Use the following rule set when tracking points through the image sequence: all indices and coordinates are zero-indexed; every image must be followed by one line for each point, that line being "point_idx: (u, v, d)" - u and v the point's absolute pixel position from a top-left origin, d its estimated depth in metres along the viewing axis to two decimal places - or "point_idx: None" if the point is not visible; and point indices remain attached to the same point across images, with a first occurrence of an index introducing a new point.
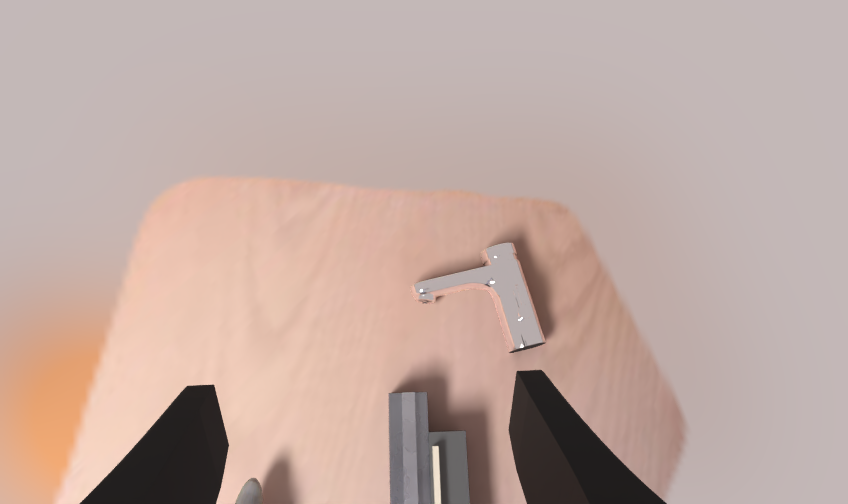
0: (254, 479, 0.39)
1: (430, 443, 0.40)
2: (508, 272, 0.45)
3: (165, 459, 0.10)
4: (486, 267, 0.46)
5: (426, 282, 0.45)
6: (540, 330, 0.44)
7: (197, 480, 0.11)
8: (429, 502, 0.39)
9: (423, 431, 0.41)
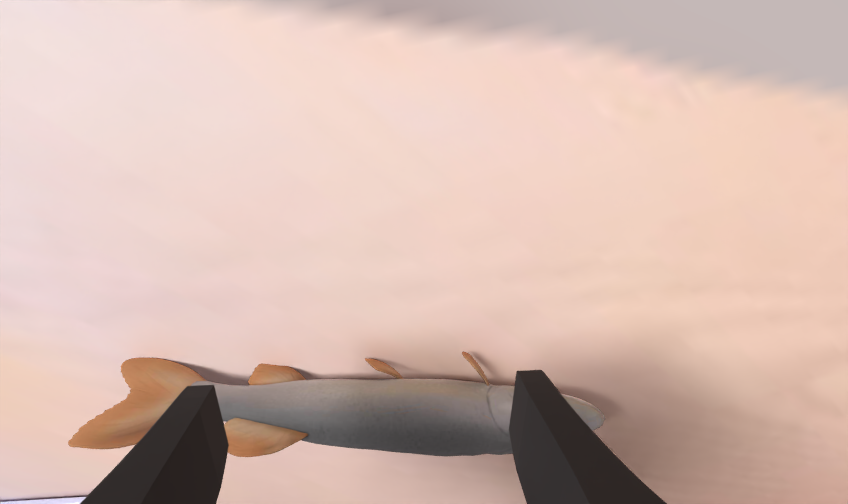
0: None
1: None
2: None
3: (165, 459, 0.10)
4: None
5: None
6: None
7: (197, 480, 0.11)
8: None
9: None
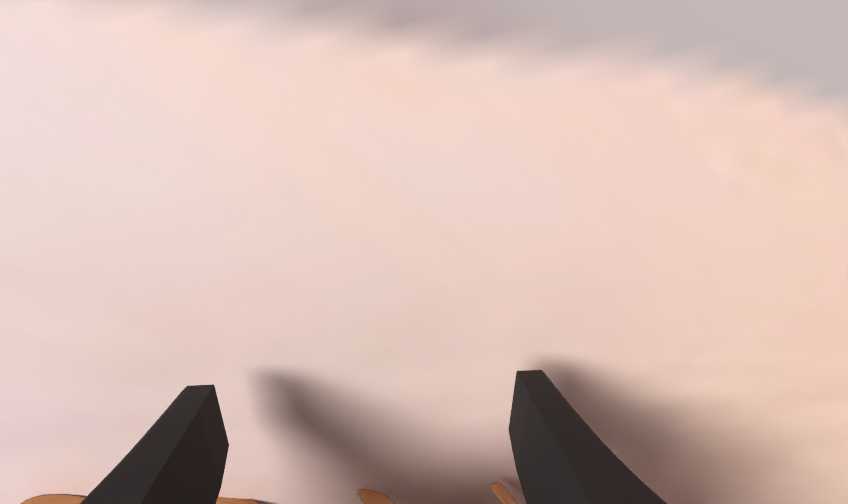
0: None
1: None
2: None
3: (165, 459, 0.10)
4: None
5: None
6: None
7: (197, 480, 0.11)
8: None
9: None
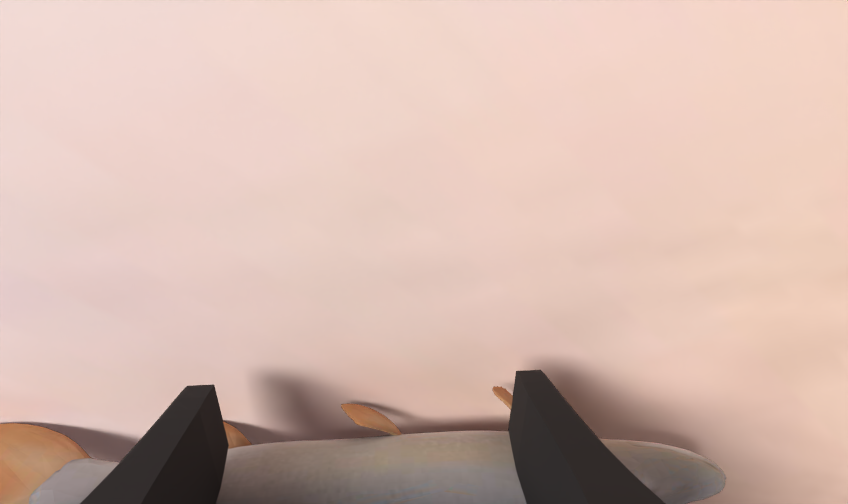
0: None
1: None
2: None
3: (165, 459, 0.10)
4: None
5: None
6: None
7: (197, 480, 0.11)
8: None
9: None
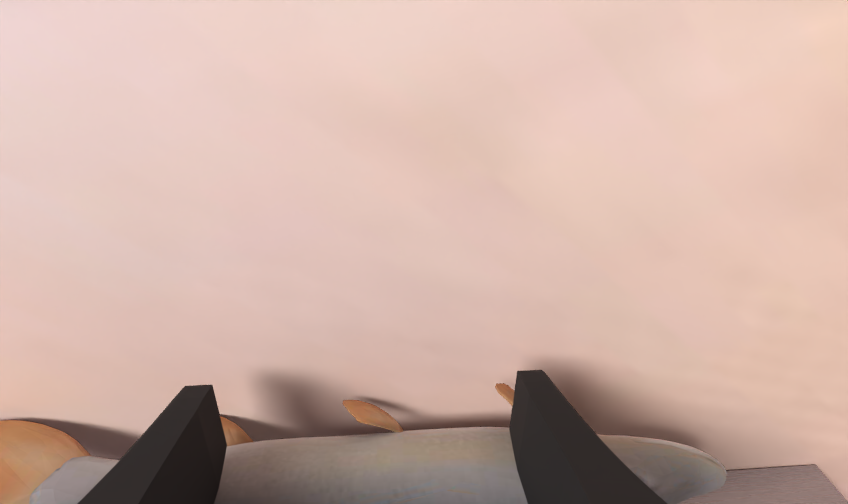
0: None
1: None
2: None
3: (163, 459, 0.10)
4: None
5: None
6: None
7: (195, 480, 0.11)
8: None
9: None
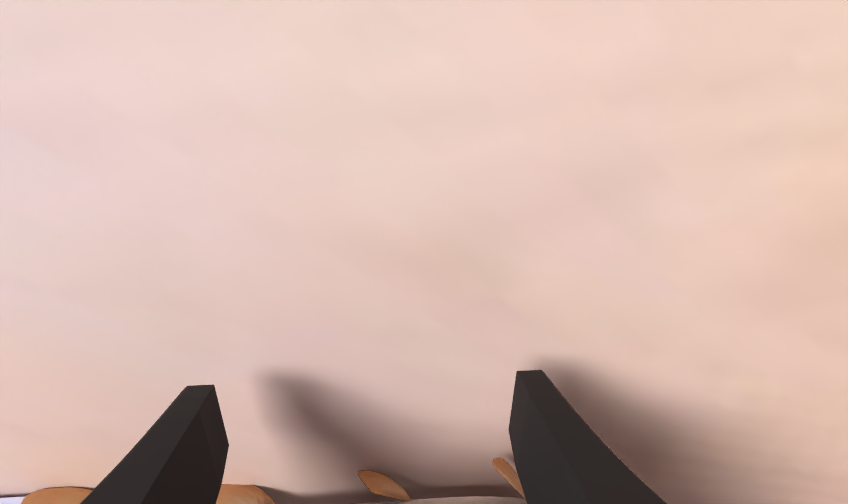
0: None
1: None
2: None
3: (165, 459, 0.10)
4: None
5: None
6: None
7: (197, 480, 0.11)
8: None
9: None
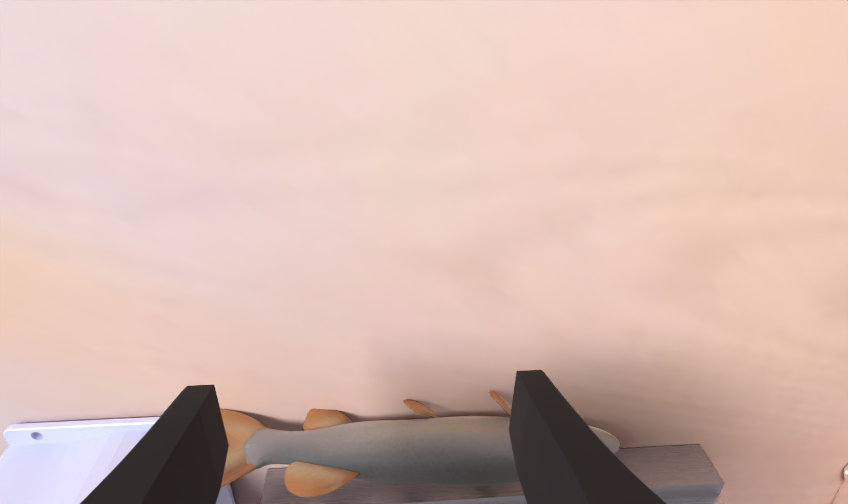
0: None
1: None
2: None
3: (165, 459, 0.10)
4: None
5: None
6: None
7: (197, 480, 0.11)
8: None
9: None
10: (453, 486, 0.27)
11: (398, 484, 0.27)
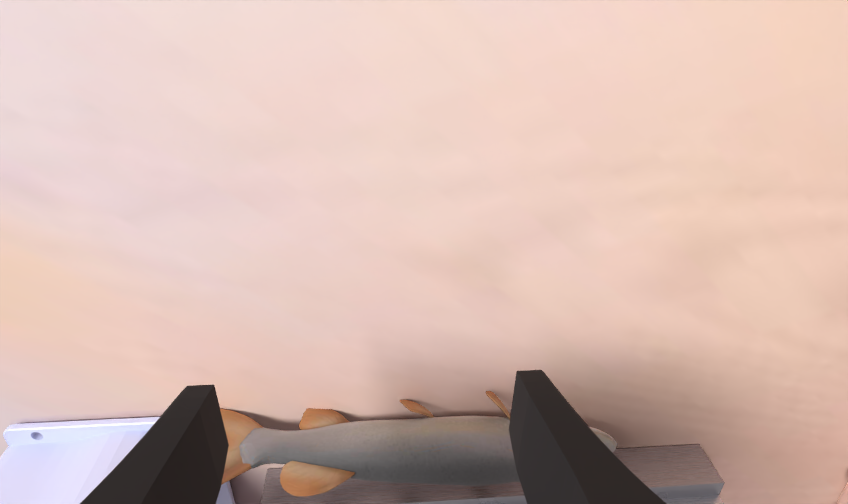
0: None
1: None
2: None
3: (165, 459, 0.10)
4: None
5: None
6: None
7: (197, 480, 0.11)
8: None
9: None
10: (453, 486, 0.27)
11: (398, 484, 0.27)
